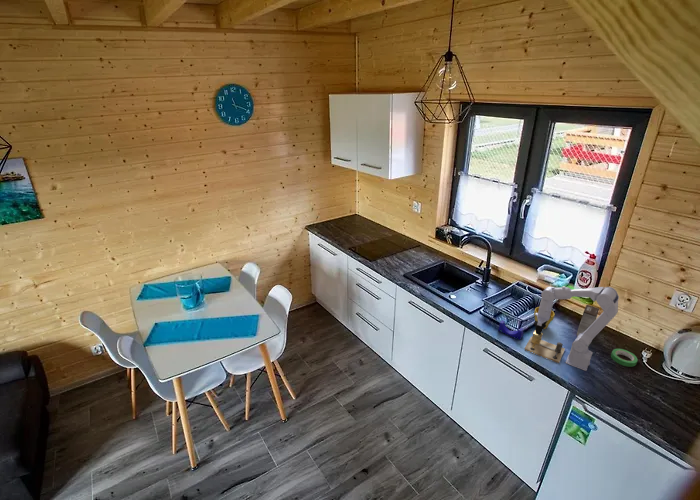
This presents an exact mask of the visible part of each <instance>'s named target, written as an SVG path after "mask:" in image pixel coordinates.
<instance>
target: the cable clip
mask: <svg viewBox="0 0 700 500" xmlns="http://www.w3.org/2000/svg"><path fill="white" fill-rule="evenodd" d="M500 330H502V332H503V334H504V333H505V335H507V334H508V335H507V336H509V335H510V336H509V337H511V336H512V337H511V338H513V337H515V338H514V339H516V338H517V337H518V339H519V341H521V339H522V338H523V336H524V328H522V327H520V328H519V330H514V331H512V330H510V329H509V328H508V327H507V326H506V321H505V320H502V319H501V321H500V322H499V326H498V332H500ZM502 332H501V333H502ZM521 337H522V338H521ZM518 339H517V340H518Z"/></svg>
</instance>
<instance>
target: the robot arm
mask: <svg viewBox="0 0 700 500" xmlns="http://www.w3.org/2000/svg"><path fill="white" fill-rule="evenodd" d="M540 296H541V300H540V302H539V306H538V307H539V311H538V313H535V315H536V316H537V319H538V321H535V320H534V322H533V324H534V328H535V330H534V332H535V331H536V334H538V335H540V334H541V333H543V330H545V329H544V328H545V327H546V325H545V324H546V322H547V321H548V320H549V319H550V317H551V316H550V314H551V310H552V309H553V306H554V301H555V300H570V299H571V298H574V297H575V298H576V297H577V298H590V299H591V300H592V301H593V302H596V303H597V304H598V306H599V307H600V308H601V309H602V311H603V312H601V314H600V315H599V316H597V318H596V320H595V321H594V322H593V323H592V324H591V326H590V327H589V328H588V329H587V330H586V331H585V332H583V333H580V334H579V335H578V336H577V337H576V338H575V340H574V341H573V342H572V343H571V348H570V351H569V354H568V355H567V358H566V360H565V364H567V365H569V366H572V367H575V368H577V369H580V370H583V371H585V372H587V370H588V368H589V366H590V364H591V360H592V359H591V358H592V355H593V351H591V350H589V346H590V344H591V343H592V341H593V339H595V337H597V335H598V334H599V333H600V332H601V331H602V330H603V329H604V328H605V327H606V326H608V324H609V323H610V321H612V320H613V319H614V317H616V315H617V314H618V312H619V298H620V297H619V294H618V291H617V290H616V289H615V288H614V287H611V286H598V287H597V286H596V287H588V288H575V289H572V288H570V287H569V286H565V285H564V286H561V287H555V286H547V287H545V288H544V289H543V291H542V292H541V295H540ZM552 311H553V310H552Z"/></svg>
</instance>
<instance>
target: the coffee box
mask: <svg viewBox="0 0 700 500" xmlns="http://www.w3.org/2000/svg"><path fill="white" fill-rule="evenodd" d="M599 312H600V308H599V307H596V306H593V305H590V304H586V305H585V308H584V310H583V311H582V316H581V320H580V321H579V322H580V323H579V325H578V327H577V328H578V329H577V331H576V336H577V337H578V335H579V334H580V333H583V332H585V331H586V330H587V329H588V328H589V327H590V326H591V324H592V323H593V322H594V321H595V320H596V319H597V318H598V314H599Z"/></svg>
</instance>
